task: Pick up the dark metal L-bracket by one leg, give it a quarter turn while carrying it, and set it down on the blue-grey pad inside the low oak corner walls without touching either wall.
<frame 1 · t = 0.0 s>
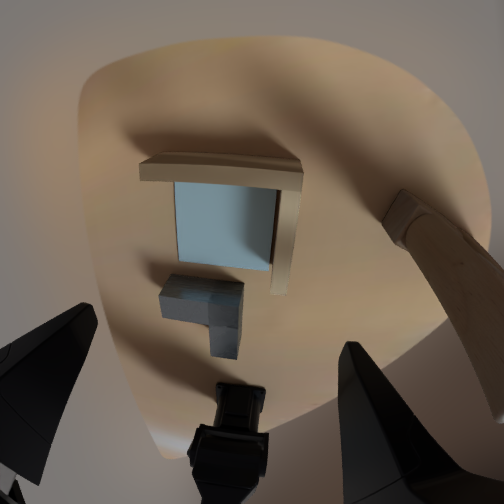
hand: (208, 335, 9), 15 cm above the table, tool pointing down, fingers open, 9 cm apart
corner walls: (227, 217, 23), on the table
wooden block: (433, 231, 22), on the table
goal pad: (223, 223, 23), on the table
bracket: (230, 291, 27), on the table
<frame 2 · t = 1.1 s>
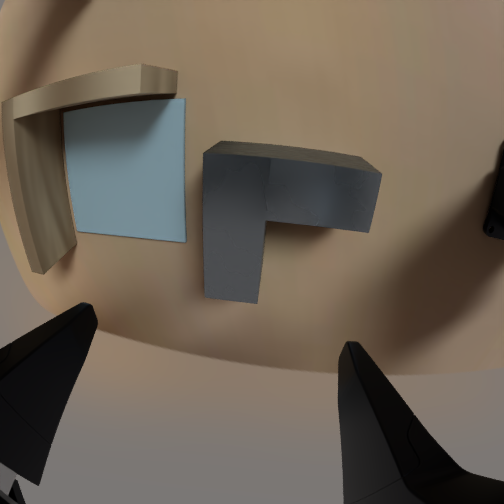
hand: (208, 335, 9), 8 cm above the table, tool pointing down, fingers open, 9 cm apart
corner walls: (112, 167, 14), on the table
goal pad: (119, 172, 15), on the table
bracket: (245, 167, 14), on the table
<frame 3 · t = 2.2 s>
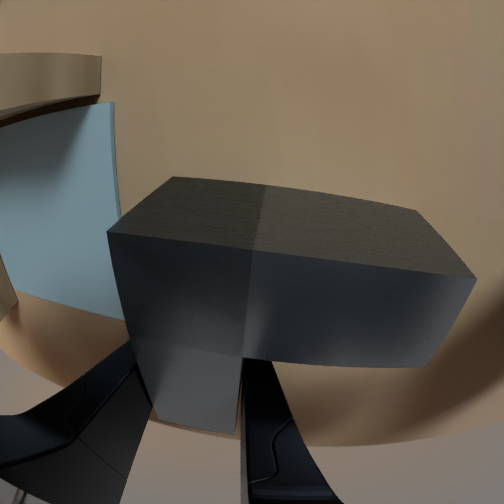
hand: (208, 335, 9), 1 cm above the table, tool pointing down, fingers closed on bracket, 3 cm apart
corner walls: (32, 213, 9), on the table
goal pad: (41, 221, 9), on the table
bracket: (216, 223, 8), on the table, touching gripper
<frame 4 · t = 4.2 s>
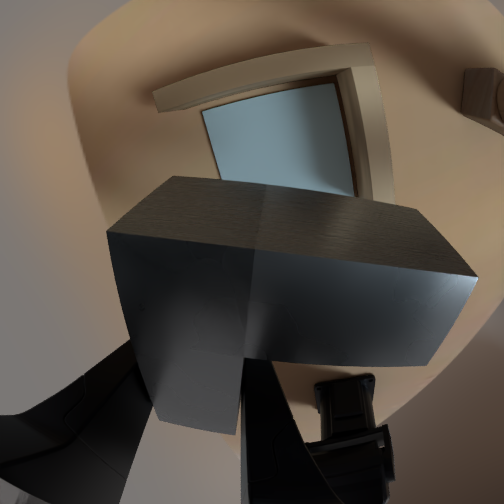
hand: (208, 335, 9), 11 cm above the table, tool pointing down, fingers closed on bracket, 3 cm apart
corner walls: (285, 148, 16), on the table
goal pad: (282, 157, 17), on the table
bracket: (216, 223, 8), point 10 cm above the table, touching gripper
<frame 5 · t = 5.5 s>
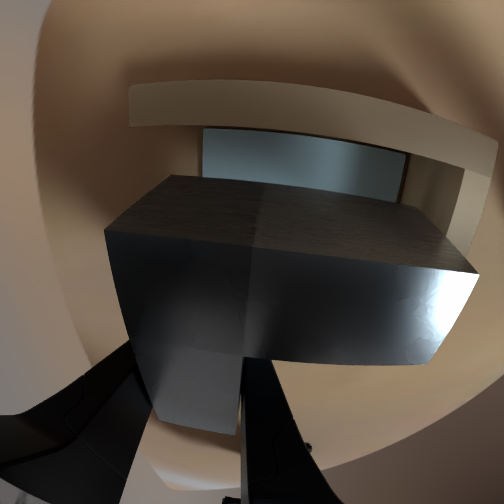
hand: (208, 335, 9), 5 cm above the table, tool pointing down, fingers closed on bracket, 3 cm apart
corner walls: (305, 220, 12), on the table
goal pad: (296, 230, 12), on the table
bracket: (215, 221, 8), point 4 cm above the table, touching gripper
when the fingers open (2 cm above the table, at t = 6.2 s): bracket drops 1 cm, resting on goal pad.
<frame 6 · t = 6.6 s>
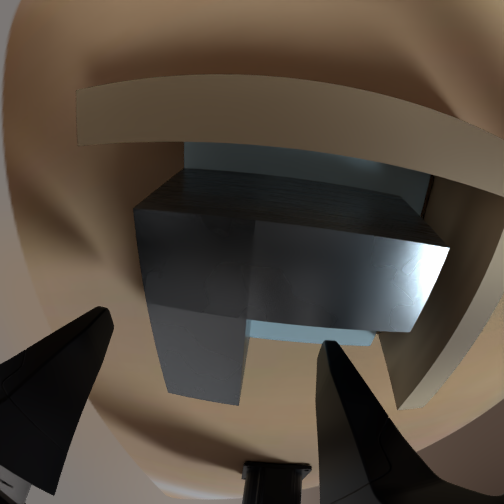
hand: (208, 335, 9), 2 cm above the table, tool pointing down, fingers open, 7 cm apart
corner walls: (309, 248, 10), on the table
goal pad: (298, 259, 10), on the table
bracket: (222, 209, 9), resting on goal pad
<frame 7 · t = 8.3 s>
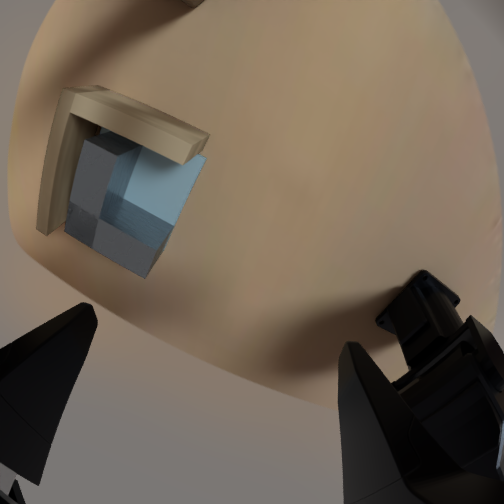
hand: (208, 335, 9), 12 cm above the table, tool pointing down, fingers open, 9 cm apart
corner walls: (130, 176, 19), on the table
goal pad: (134, 183, 19), on the table
bracket: (105, 205, 20), resting on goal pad
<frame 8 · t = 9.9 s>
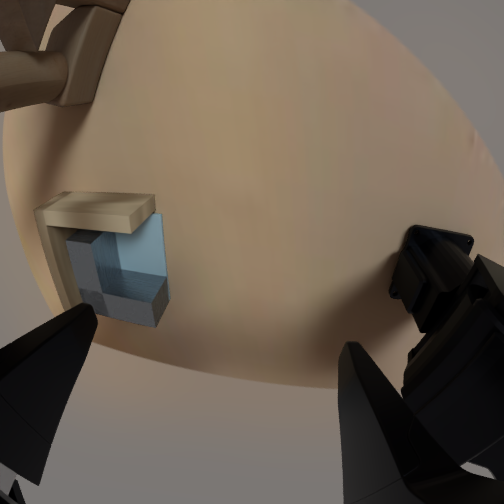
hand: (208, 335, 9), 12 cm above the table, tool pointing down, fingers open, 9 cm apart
corner walls: (118, 250, 23), on the table
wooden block: (99, 34, 14), on the table
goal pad: (123, 254, 23), on the table
bracket: (112, 278, 24), resting on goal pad
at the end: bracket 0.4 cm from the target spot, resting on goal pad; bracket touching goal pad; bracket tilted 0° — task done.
